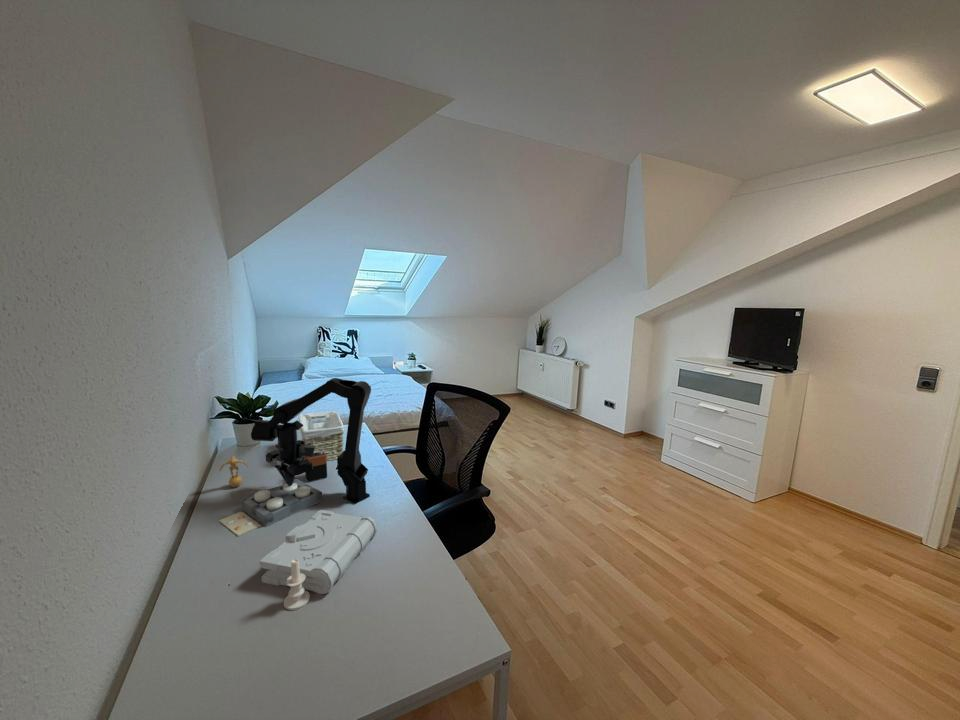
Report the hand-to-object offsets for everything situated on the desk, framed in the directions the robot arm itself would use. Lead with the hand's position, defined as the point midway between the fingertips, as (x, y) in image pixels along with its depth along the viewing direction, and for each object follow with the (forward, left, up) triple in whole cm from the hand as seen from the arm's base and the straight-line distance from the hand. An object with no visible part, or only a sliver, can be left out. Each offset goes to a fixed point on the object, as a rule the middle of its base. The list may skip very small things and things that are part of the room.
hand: (290, 485), depth 128 cm
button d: (0, +9, -1) cm, 9 cm away
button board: (-4, +5, -4) cm, 7 cm away
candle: (-44, +24, -4) cm, 50 cm away
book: (-35, +10, -4) cm, 37 cm away
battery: (+5, -12, -4) cm, 14 cm away
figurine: (+20, +9, -4) cm, 22 cm away
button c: (-7, +9, -1) cm, 12 cm away
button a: (-7, 0, -1) cm, 8 cm away
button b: (0, 0, -2) cm, 2 cm away
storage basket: (+24, -27, -4) cm, 37 cm away
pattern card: (-4, +18, -4) cm, 18 cm away
